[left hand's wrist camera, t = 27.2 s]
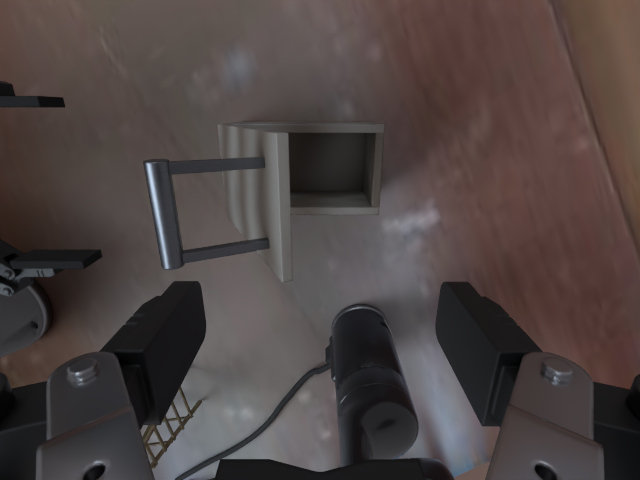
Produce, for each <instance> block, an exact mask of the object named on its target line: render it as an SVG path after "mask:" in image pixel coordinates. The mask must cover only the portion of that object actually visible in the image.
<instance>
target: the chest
mask: <svg viewBox="0 0 640 480" xmlns="http://www.w3.org/2000/svg"><path fill="white" fill-rule="evenodd" d="M227 124H228V125H235V126H242V127H249V128H257V129H264V130H271V131H278V132H285V133H288V138H289V173H290V208H291V215H379V202H380V187H381V172H382V156H383V141H384V126H385V125H384V124H379V123H374V122H249V121H242V122H235V123H227Z"/></svg>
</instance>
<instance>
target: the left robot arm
mask: <svg viewBox="0 0 640 480" xmlns="http://www.w3.org/2000/svg"><path fill="white" fill-rule="evenodd" d="M390 332H391V330H390V328H389V325H388V322H387V319H386V317H385V315H384V314H383V313H382V312H381V311H380V310H378V309H377V308H375V307H373V306H370V305H365V304H358V305H352V306H349V307H347V308H345V309H343V310H342V311H341V312H340V313H339V314H338V315H337V316H336V317H335V319H334V321H333V324H332V336H331V337H330V345H329V346H328V347H327V348H326V362H327V364H326V365H324V366H322V367H320V368H318V369H312V370H310V371H309V372H308V373H306V374H305V375H304V376H303V377H302V378H301V379H300V380H299V381H298V382H297V383H296V384H295V386H294V387H293V388H292V389H291V390H290V392H289V393H288V394H287V395H286V396H285V398H284V399H283V400H282V401H281V402H280V404H279V405H278V406H277V408H276V409H275V411H274V412H273V413H272V415H271V416H270V417H269V419H268V420H267V421H266V422H265V423H264V424H263V425H262V426H261V427H260V428H259V429H258V430H257V431H255V432H254V433H253V434H252V435H250V436H249V437H248V438H246V439H245V440H243V441H242V442H240V443H239V444H237V445H235V446H234V447H232V448H231V449H229V450H227V451H225V452H223V453H221V454H219V455H217V456H215V457H213V458H211V459H209V460H207V461H205V462H203V463H201V464H200V465H198V466H196V467H194V468H193V469H191V470H189V471H187V472H186V473H184V474H182V475H181V476H179V477H177V478H176V479H175V480H183V479H185V478H186V477H188V476H190V475H192V474H193V473H195V472H197V471H198V470H200V469H202V468H204V467H206V466H207V465H209V464H211V463H213V462H215V461H217V460H220V462H219V466H218V469H217V473H216V476H215V478H212V479H208V480H454V478H453V476H452V474H451V473H450V471H449V470H448V468H447V467H446V466H445V465H444V464H443V463H442V462H441V461H439V460H437V459H431V458H411V459H396V458H398V457H400V456H402V455H403V454H404V453H406V452H407V451H408V450H409V449H410V448H411V447H412V445H413V444H414V442H415V440H416V438H417V435H418V430H419V424H418V418H417V414H416V411H415V408H414V405H413V402H412V399H411V396H410V393H409V390H408V387H407V384H406V381H405V377H404V374H403V371H402V368H401V365H400V362H399V358H398V355H397V352H396V349H395V346H394V343H393V339H392V336H391V334H392V332H391V333H390ZM205 333H206V318H205V311H204V304H203V297H202V290H201V285H200V283H199V282H198V281H174V282H173V283H172V284H171V285H170V286H169V287H168V289H167V290H166V291H165V292H164V293H163V294H162V296H156V297H154V298H153V299H151V300H149V301H148V302H146V303H144V304H143V305H142V306H141V307H140V308H139V309H138V310H137V311H136V312H135V313H134V314H133V317H131V318H130V319H129V320H128V321H127V322H126V325H123V326H122V327H121V328H120V330H119V331H118V332H117V333H116V334H115V335H114V336H113V337H112V338H111V339H110V340H109V341H108V343H107V344H106V345H105V346H104V347H103V348H102V349H101V350H100V351H99V352H92V353H87V354H84V355H81V356H78V357H76V358H74V359H71V360H69V361H68V362H66V363H64V364H63V365H61V366H60V367H58V368H57V369H56V370H55V371H54V372H53V373H52V374H51V375H50V377H49V378H48V380H47V381H46V382H41V383H36V384H31V385H27V386H22V387H17V388H13V389H11V386H10V384H9V381H8V379H7V377H6V375H5V374H3V373H0V480H155V479H154V475H153V472H152V469H151V465H150V462H149V459H148V455H147V452H146V449H145V445H144V442H143V439H142V435H141V432H140V430H141V428H142V426H143V425H161V423H162V421H163V419H164V417H165V415H166V413H167V411H168V409H169V407H170V405H171V403H172V401H173V399H174V398H175V396H176V394H177V392H178V390H179V388H180V386H181V384H182V382H183V380H184V378H185V376H186V374H187V372H188V370H189V368H190V366H191V364H192V362H193V360H194V358H195V356H196V354H197V352H198V350H199V349H200V347H201V345H202V343H203V341H204V338H205ZM392 335H393V334H392ZM436 335H437V339H438V342H439V344H440V346H441V348H442V350H443V351H444V353H445V355H446V357H447V359H448V361H449V363H450V365H451V367H452V369H453V371H454V373H455V375H456V377H457V379H458V381H459V382H460V384H461V386H462V388H463V390H464V392H465V394H466V396H467V398H468V400H469V402H470V404H471V406H472V408H473V410H474V411H475V413H476V415H477V417H478V419H479V421H480V423H481V425H482V426H500V428H501V429H500V432H499V435H498V439H497V442H496V445H495V449H494V452H493V455H492V459H491V462H490V465H489V469H488V472H487V475H486V479H485V480H640V374H639V375H637V376H636V377H635V379H634V381H633V384H632V386H631V388H630V389H625V388H620V387H616V386H611V385H606V384H601V383H597V382H593V380H592V378H591V377H590V375H589V374H588V373H587V372H586V371H585V370H584V369H583V368H582V367H580V366H579V365H577V364H576V363H574V362H572V361H571V360H569V359H566V358H564V357H562V356H559V355H556V354H553V353H548V352H543V351H542V350H541V349H540V348H539V347H538V346H537V345H536V344H535V343H534V342H533V340H532V339H531V338H530V337H529V336H528V335H527V334H526V333H525V332H524V331H523V330H522V329H521V328H520V327H519V326H517V323H516V322H515V321H514V320H513V319H512V318H511V317H509V315H508V314H507V313H506V312H505V310H504V309H503V308H502V307H501V306H500V305H498V304H497V303H495V302H493V301H492V300H490V299H488V298H487V297H481V296H480V295H479V294H478V293H477V291H476V290H475V289H474V288H473V287H472V286H471V285H470V283H468V282H443V283H442V285H441V289H440V296H439V303H438V310H437V317H436ZM393 337H394V336H393ZM330 368H331V378H332V380H333V381H334V382H335V385H336V401H337V419H338V431H339V443H340V468H336V469H332V470H329V471H325V472H315V471H311V470H308V469H304V468H300V467H296V466H293V465H289V464H285V463H281V462H278V461H274V460H270V459H222V458H224V457H226V456H228V455H230V454H231V453H233V452H235V451H237V450H238V449H240V448H241V447H243V446H244V445H246V444H248V443H249V442H250V441H252V440H253V439H255V438H256V437H257V436H258V435H259V434H261V433H262V432H263V431H264V430H265V429H266V428H267V427H268V426H269V425H270V424H271V423H272V421H273V420H274V419H275V418H276V416H277V415H278V413H279V412H280V411H281V409H282V408H283V407H284V405H285V404H286V403H287V402H288V401H289V400H290V398H291V397H292V396H293V395H294V394H295V392H296V391H297V390H298V389H299V388H300V386H301V385H302V384H303V383H304V382H305V381H306V380H307V379H309V378H310V377H311V376H312V375H314V374H320V373H322V372H324V371H326V370H328V369H330Z"/></svg>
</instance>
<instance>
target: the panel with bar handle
mask: <svg viewBox="0 0 640 480" xmlns="http://www.w3.org/2000/svg"><path fill="white" fill-rule="evenodd" d="M217 126H218V136H219V146H220V156H221V159H208V160H190V161H171V162H170V161H169V160H167V159H151V160H145V161H144V162H143V163H144V169H145V175H146V180H147V186H148V191H149V197H150V203H151V208H152V214H153V220H154V225H155V231H156V236H157V242H158V248H159V253H160V259H161V264H162V268H163V269H167V270H172V269H178V268H180V267H182V266H184V264H185V263H189V262H195V261H200V260H206V259H212V258H218V257H223V256H229V255H235V254H241V253H246V252H252V251H256V252H257V253H258V254H259V255H260V257H261V258H262V259H263V260H264V261H265V262H266V264H267V265H268V266H269V267H270V268H271V270H272V271H273V272H274V273H275V274H276V276H277V277H278V278H279V279H280V280H281V281H282V282H287V281H292V280H293V277H292V242H291V208H290V173H289V138H288V133H285V132H278V131H271V130H264V129H257V128H249V127H242V126H235V125H228V124H217ZM215 171H222V176H223V187H224V197H225V207H226V216H227V217H228V219H229V220H230V221H231V222H232V223H233V224H234V226H235V227H236V228H237V229H238V230H239V232H240V233H241V234H242V235H243V236H244V238H245V239H246V241H240V242H234V243H227V244H221V245H215V246H209V247H202V248H196V249H190V250H183V247H182V241H181V234H180V228H179V221H178V214H177V208H176V201H175V195H174V188H173V181H172V174H186V173H201V172H215Z"/></svg>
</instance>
